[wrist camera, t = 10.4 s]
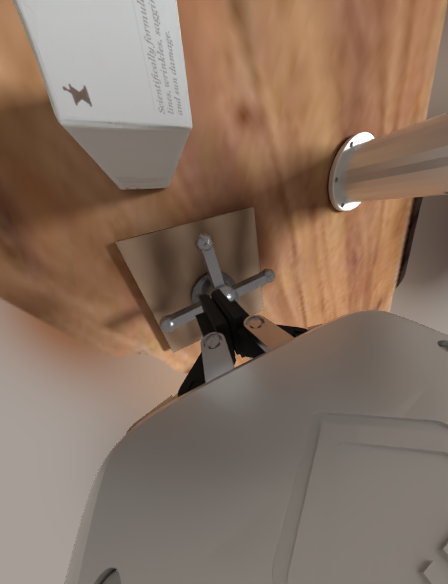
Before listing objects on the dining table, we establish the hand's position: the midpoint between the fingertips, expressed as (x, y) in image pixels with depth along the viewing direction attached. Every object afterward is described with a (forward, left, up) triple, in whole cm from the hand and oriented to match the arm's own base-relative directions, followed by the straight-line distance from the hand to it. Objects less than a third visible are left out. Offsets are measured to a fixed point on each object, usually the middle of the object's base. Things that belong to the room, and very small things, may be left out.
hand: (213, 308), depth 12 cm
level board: (-3, +5, -15) cm, 16 cm away
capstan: (-3, +5, -14) cm, 15 cm away
